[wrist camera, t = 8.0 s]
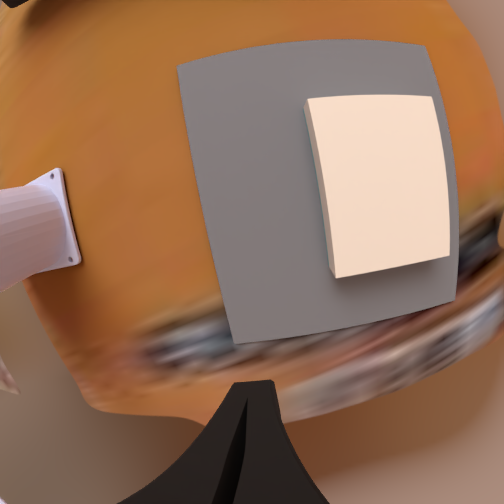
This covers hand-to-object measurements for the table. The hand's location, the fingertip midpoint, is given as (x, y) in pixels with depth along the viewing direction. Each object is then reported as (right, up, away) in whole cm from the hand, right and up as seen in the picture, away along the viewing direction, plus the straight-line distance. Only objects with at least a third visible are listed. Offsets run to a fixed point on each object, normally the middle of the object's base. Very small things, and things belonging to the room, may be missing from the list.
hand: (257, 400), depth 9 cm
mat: (+6, +9, +8) cm, 13 cm away
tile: (+4, +9, +6) cm, 11 cm away
